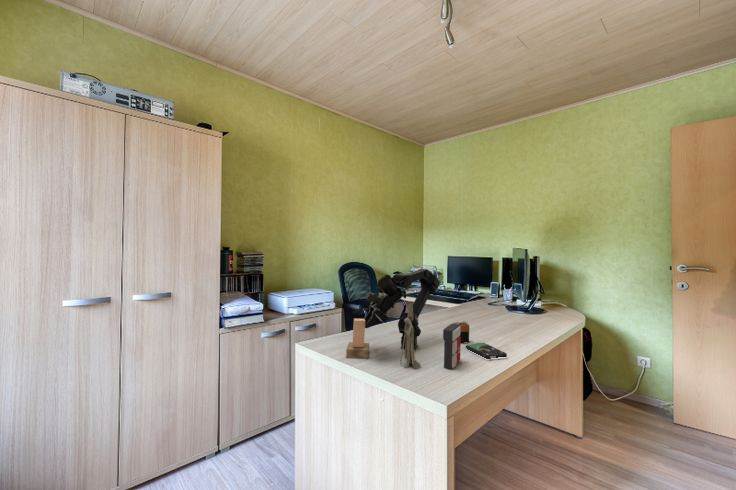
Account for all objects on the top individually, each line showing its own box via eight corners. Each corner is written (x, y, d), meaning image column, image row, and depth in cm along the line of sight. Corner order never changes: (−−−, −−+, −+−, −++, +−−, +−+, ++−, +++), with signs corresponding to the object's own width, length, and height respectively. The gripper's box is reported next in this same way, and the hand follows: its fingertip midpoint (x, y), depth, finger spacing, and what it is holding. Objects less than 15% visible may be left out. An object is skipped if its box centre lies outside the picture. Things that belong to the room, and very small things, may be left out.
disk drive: (507, 359, 130) (483, 347, 144) (507, 353, 130) (483, 342, 144) (487, 362, 127) (464, 349, 141) (487, 355, 127) (465, 343, 141)
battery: (469, 343, 149) (469, 322, 149) (456, 343, 148) (456, 323, 148) (464, 340, 154) (465, 320, 153) (452, 340, 152) (452, 320, 152)
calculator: (453, 370, 116) (454, 331, 116) (442, 367, 119) (443, 329, 119) (461, 361, 126) (461, 324, 126) (450, 359, 128) (451, 323, 128)
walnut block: (369, 352, 135) (369, 343, 135) (367, 359, 126) (368, 350, 126) (348, 351, 136) (349, 342, 136) (346, 358, 127) (346, 349, 127)
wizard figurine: (395, 360, 125) (396, 299, 125) (414, 358, 127) (416, 298, 127) (404, 370, 115) (405, 304, 115) (425, 368, 117) (426, 303, 117)
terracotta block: (362, 344, 133) (364, 318, 134) (363, 347, 129) (365, 320, 130) (352, 344, 133) (353, 318, 133) (353, 346, 128) (354, 320, 129)
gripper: (375, 282, 141) (351, 306, 140) (380, 289, 122) (351, 316, 122) (392, 300, 142) (367, 323, 141) (399, 308, 123) (371, 336, 122)
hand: (364, 324), depth 131 cm, fingers open, 9 cm apart
